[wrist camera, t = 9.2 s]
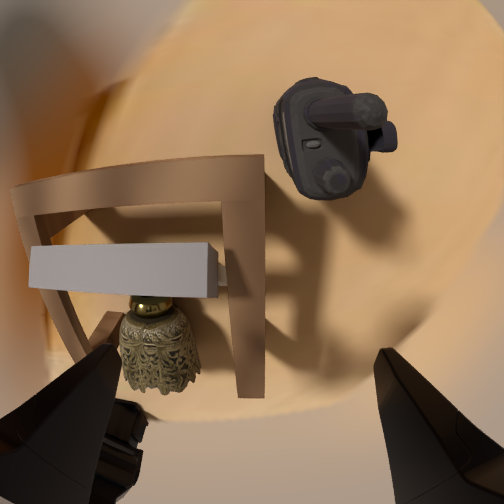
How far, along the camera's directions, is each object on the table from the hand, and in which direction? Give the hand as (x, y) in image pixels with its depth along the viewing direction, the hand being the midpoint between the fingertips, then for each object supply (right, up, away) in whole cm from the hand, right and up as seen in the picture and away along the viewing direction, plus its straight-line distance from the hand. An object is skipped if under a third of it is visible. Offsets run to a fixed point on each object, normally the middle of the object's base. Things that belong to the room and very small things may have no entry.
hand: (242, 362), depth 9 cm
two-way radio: (+4, +12, +10) cm, 16 cm away
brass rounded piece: (-8, 0, +13) cm, 15 cm away
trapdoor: (-7, +3, +10) cm, 12 cm away
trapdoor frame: (-7, +3, +14) cm, 16 cm away
